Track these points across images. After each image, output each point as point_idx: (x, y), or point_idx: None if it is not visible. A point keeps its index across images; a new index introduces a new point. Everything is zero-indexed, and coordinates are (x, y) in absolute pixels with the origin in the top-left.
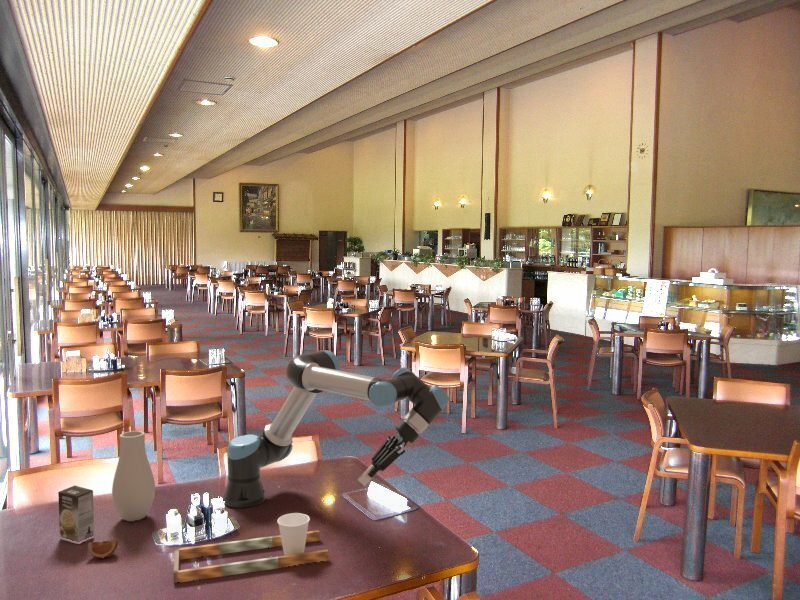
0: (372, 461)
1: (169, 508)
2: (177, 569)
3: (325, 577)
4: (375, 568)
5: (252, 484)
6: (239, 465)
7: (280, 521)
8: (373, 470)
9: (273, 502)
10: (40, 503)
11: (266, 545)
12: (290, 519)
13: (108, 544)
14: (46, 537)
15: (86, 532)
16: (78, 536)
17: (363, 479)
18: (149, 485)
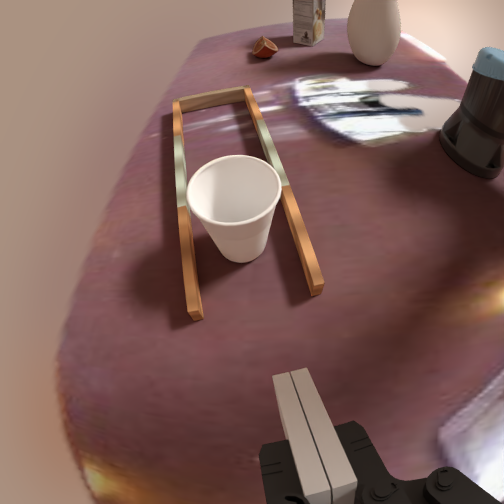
0: (388, 487)
1: (408, 82)
2: (181, 100)
3: (121, 312)
4: (137, 430)
5: (475, 131)
6: (472, 82)
7: (251, 166)
8: (265, 491)
9: (481, 191)
10: None
11: None
12: (274, 187)
13: (261, 45)
14: None
15: (302, 35)
16: (293, 34)
17: (279, 407)
18: (371, 27)
